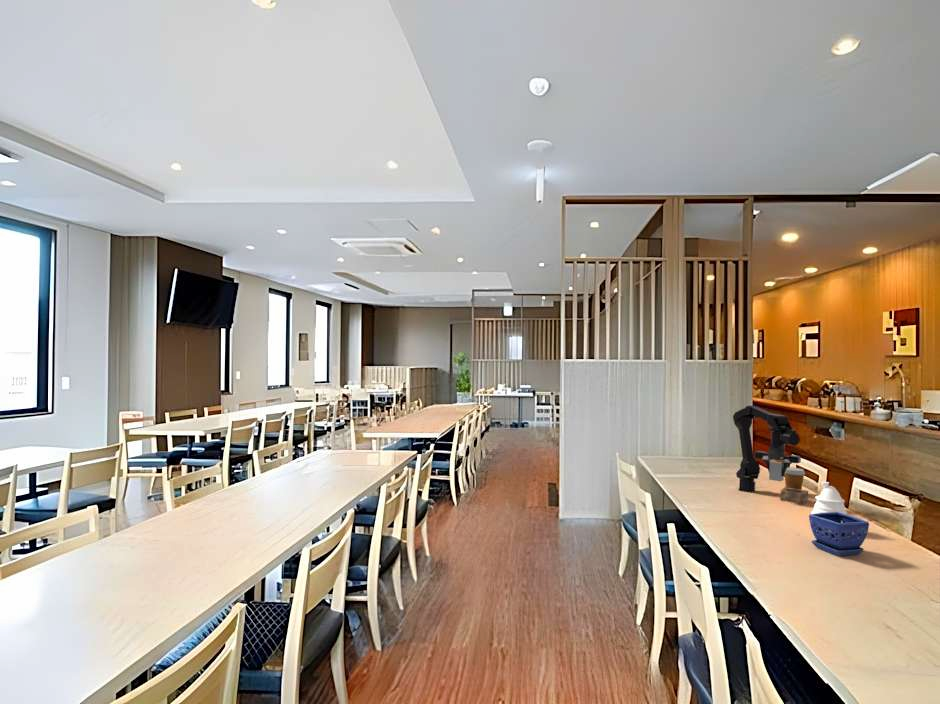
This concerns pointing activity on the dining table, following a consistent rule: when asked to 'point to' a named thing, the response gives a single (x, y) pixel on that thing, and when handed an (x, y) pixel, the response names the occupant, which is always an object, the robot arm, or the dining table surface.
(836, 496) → the honey pot
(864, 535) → the flower pot
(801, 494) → the socket block
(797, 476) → the disposable coffee cup
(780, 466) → the steel peg
